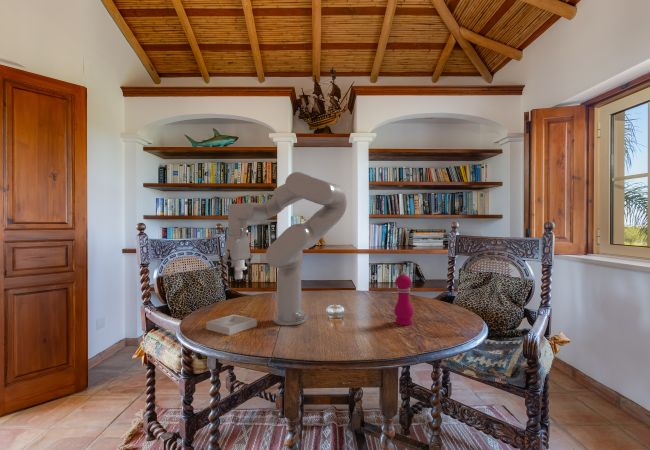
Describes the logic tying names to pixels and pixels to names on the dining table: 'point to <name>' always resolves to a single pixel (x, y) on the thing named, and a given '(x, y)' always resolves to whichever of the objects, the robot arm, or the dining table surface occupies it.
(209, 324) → the tray
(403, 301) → the pepper mill
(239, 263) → the pipe fitting
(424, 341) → the dining table surface
